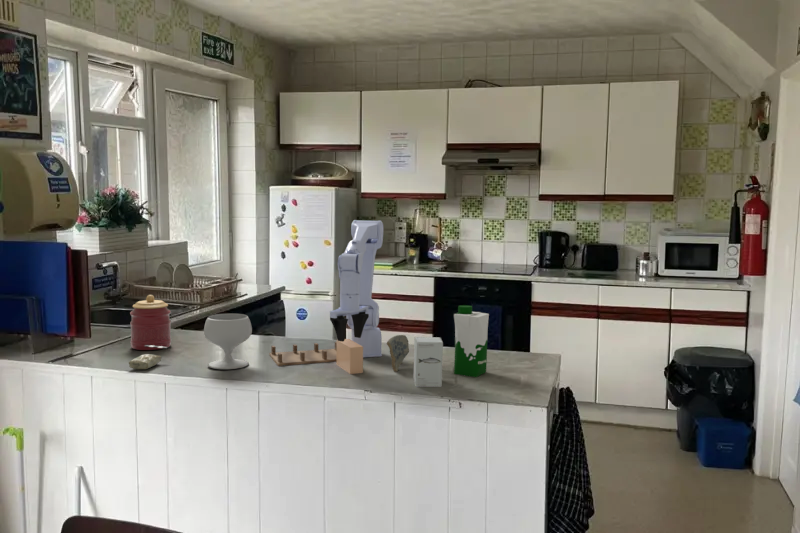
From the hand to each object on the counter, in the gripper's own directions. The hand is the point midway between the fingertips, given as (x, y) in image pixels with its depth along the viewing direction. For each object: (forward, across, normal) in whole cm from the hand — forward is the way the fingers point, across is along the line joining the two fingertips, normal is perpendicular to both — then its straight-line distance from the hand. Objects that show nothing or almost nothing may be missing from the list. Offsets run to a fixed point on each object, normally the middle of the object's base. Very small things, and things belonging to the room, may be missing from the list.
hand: (349, 339), depth 206 cm
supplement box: (+9, -3, +28) cm, 29 cm away
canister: (+9, +23, -70) cm, 75 cm away
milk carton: (+9, -20, +30) cm, 37 cm away
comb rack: (+9, -2, -19) cm, 21 cm away
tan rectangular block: (+9, 0, 0) cm, 9 cm away
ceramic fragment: (+9, -10, +11) cm, 17 cm away
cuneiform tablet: (+7, +32, -51) cm, 61 cm away
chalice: (+9, +22, -30) cm, 38 cm away
